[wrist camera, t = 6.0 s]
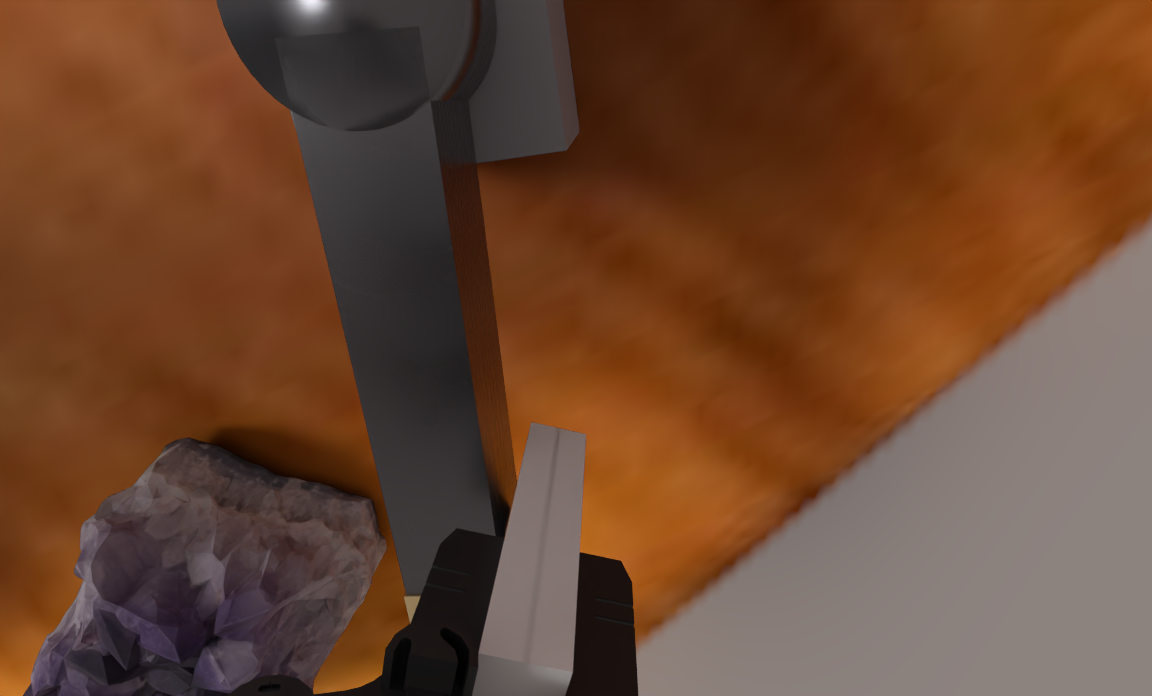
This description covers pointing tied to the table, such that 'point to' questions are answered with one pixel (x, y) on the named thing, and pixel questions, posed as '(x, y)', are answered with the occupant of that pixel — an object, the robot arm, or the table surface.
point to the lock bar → (401, 242)
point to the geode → (210, 580)
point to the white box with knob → (526, 85)
